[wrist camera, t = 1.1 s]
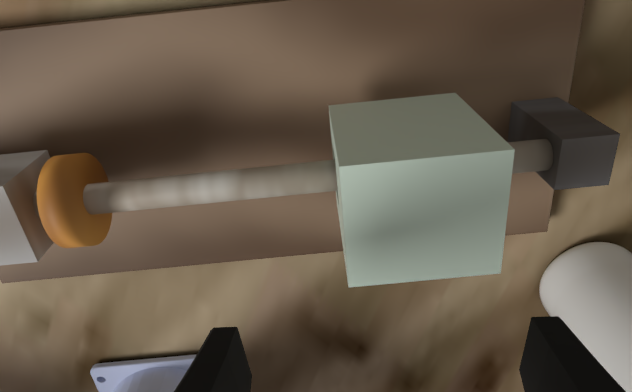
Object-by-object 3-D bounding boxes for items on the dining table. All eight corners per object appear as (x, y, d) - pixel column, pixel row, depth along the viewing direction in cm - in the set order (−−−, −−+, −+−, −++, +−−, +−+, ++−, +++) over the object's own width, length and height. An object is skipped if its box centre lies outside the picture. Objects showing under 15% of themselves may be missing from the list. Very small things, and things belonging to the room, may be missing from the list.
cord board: (538, 221, 25) (607, 301, 19) (12, 271, 25) (-69, 363, 20) (576, -33, 19) (692, -23, 13) (-104, 39, 19) (-265, 77, 14)
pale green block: (450, 191, 20) (500, 273, 15) (336, 202, 21) (348, 287, 15) (455, 92, 18) (514, 149, 13) (328, 105, 19) (339, 166, 13)
